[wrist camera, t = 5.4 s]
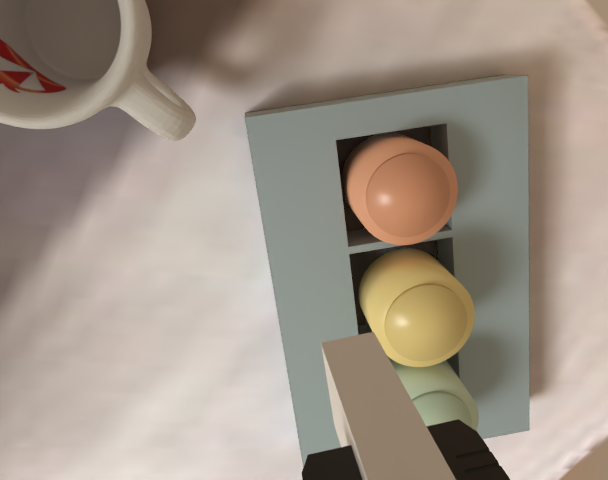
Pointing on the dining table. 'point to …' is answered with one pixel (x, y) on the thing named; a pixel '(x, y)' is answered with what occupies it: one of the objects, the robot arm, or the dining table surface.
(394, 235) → the button terracotta
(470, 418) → the button sage
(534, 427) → the dining table surface
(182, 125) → the cup
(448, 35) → the dining table surface
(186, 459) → the dining table surface
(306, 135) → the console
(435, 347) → the button ochre
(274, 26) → the dining table surface
